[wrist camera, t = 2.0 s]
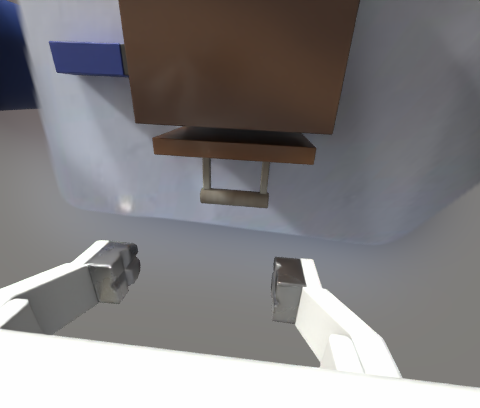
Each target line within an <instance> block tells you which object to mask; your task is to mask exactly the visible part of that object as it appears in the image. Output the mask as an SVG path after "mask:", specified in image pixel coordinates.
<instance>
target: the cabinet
mask: <svg viewBox="0 0 480 408" xmlns="http://www.w3.org/2000/svg"><path fill="white" fill-rule="evenodd" d="M118 1H119V8H120V15H121V22H122V30H123V37H124V44H125V51H126V58H127V66H128V73H129V80H130V87H131V95H132V102H133V109H134V116H135V123H138V124H156V125H173V126H190V127H208V128H225V129H242V130H260V131H277V132H294V133H312V134H329V135H332V134H333V130H334V125H335V120H336V115H337V110H338V105H339V100H340V95H341V91H342V86H343V81H344V76H345V71H346V66H347V61H348V56H349V51H350V47H351V42H352V37H353V32H354V27H355V22H356V17H357V12H358V7H359V2H360V0H118Z"/></svg>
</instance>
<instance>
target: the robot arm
mask: <svg viewBox="0 0 480 408" xmlns="http://www.w3.org/2000/svg"><path fill="white" fill-rule="evenodd" d="M137 253H138V249H137V245H135V244H133V243H126V242H117V241H107V240H98V241H96V242H95V243H94V244H93V245H92V246H90V247H89V248H88V249H87V250H86V251H85V252H83V253H82V254H81V255H80V256H79V257H77V258H76V259H75V260H74V261H73V262H72V263H66V264H63V265H61V266H58V267H56V268H53V269H50V270H48V271H45V272H43V273H40V274H38V275H35V276H33V277H30V278H27V279H25V280H22V281H20V282H17V283H15V284H12V285H9V286H7V287H4V288H2V289H0V408H480V388H477V387H468V386H461V385H452V384H445V383H436V382H428V381H420V380H412V379H403V378H402V376H401V374H400V372H399V370H398V368H397V366H396V364H395V362H394V360H393V358H392V356H391V354H390V352H389V350H388V348H387V346H386V343H385V342H384V339H383V338H382V337H381V336H379V335H378V334H377V333H376V332H375V331H374V330H373V329H371V328H370V327H369V326H368V325H367V324H366V323H365V322H363V321H362V320H361V319H360V318H359V317H358V316H357V315H355V314H354V313H353V312H352V311H351V310H350V309H349V308H347V307H346V306H345V305H344V304H343V303H342V302H341V301H339V300H338V299H337V298H336V297H335V296H334V295H332V294H331V293H330V292H329V291H328V290H327V289H322V286H321V282H320V279H319V276H318V273H317V270H316V266H315V263H314V261H313V260H312V259H301V258H300V259H296V258H295V259H294V258H284V257H275V258H274V272H273V274H272V284H271V297H272V298H273V300H272V321H277V322H284V323H292V324H295V326H296V327H297V329H298V330H299V332H300V333H301V335H302V336H303V338H304V339H305V341H306V342H307V344H308V345H309V346H310V348H311V349H312V351H313V352H314V354H315V355H316V357H317V358H318V360H319V361H320V363H321V365H320V368H315V367H306V366H298V365H290V364H282V363H274V362H265V361H257V360H250V359H241V358H233V357H225V356H217V355H209V354H201V353H193V352H184V351H176V350H168V349H159V348H152V347H144V346H136V345H127V344H119V343H111V342H103V341H95V340H86V339H79V338H71V337H63V336H62V337H61V336H53V335H52V334H54V333H55V332H57V331H58V330H60V329H61V328H63V327H64V326H65V325H67V324H68V323H70V322H72V321H73V320H74V319H76V318H77V317H79V316H80V315H82V314H83V313H85V312H86V311H88V310H89V309H91V308H92V307H94V306H95V305H97V304H98V302H102V303H114V304H115V303H116V304H120V302H121V301H122V300H123V298H124V297H125V295H126V294H127V293H128V291H129V290H128V286H130V285H131V284H133V283H134V282H135V281H136V279H137V278H138V275H139V272H140V260H139V259H138V258H137V257H136V254H137Z"/></svg>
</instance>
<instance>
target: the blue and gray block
mask: <svg viewBox="0 0 480 408" xmlns="http://www.w3.org/2000/svg"><path fill="white" fill-rule="evenodd" d="M49 44H50V48H51V52H52V56H53V60H54V64H55V68H56V72H57V73H64V74H73V75H90V76H113V77H129V73H128V66H127V58H126V51H125V44H119V43H91V42H61V41H49Z"/></svg>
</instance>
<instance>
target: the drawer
mask: <svg viewBox="0 0 480 408" xmlns="http://www.w3.org/2000/svg"><path fill="white" fill-rule="evenodd" d="M152 139H153V148H154V154H157V155H172V156H187V157H202V160H203V188H202V189H201V192H200V201H201V203H208V204H220V205H233V206H245V207H258V208H268V201H269V193H268V192H267V185H268V175H269V165H270V162H277V163H292V164H307V165H313V164H314V159H315V154H316V147H315V146H314V145H313V144H312V143H311V142H310V141H309V140H308V139H307V138H306V137H305V136H304V135H303V134H302V133H294V132H277V131H260V130H242V129H225V128H208V127H190V126H183V127H180V128H178V129H175V130H172V131H170V132H167V133H164V134H161V135H159V136H156V137H153V138H152ZM211 158H217V159H232V160H247V161H262V172H261V184H260V192H254V191H241V190H228V189H215V188H211Z"/></svg>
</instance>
